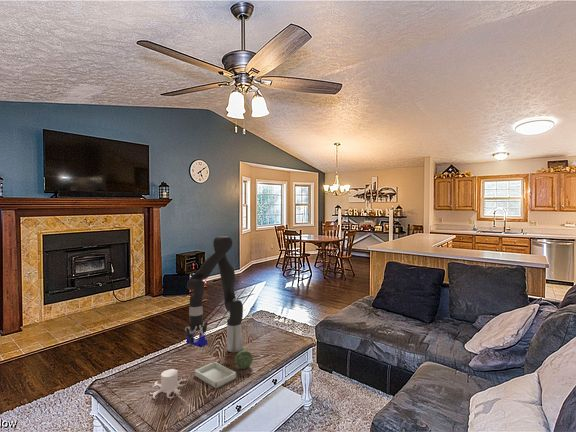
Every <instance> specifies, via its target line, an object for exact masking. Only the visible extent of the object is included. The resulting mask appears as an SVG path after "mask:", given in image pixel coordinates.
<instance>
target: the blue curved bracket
mask: <svg viewBox="0 0 576 432" xmlns="http://www.w3.org/2000/svg"><path fill="white" fill-rule="evenodd" d="M189 333H190V331H189ZM198 336H199V335H198ZM193 338H194V344H191V343H190V338H188V337H186V344H189V345H191V346H195V347H199V348H203V347H205V346H207V345H208V339H207V338H206V334H203V335H201V336H199V337H198V340H197V339H196V338H195V337H194V336H193Z"/></svg>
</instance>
